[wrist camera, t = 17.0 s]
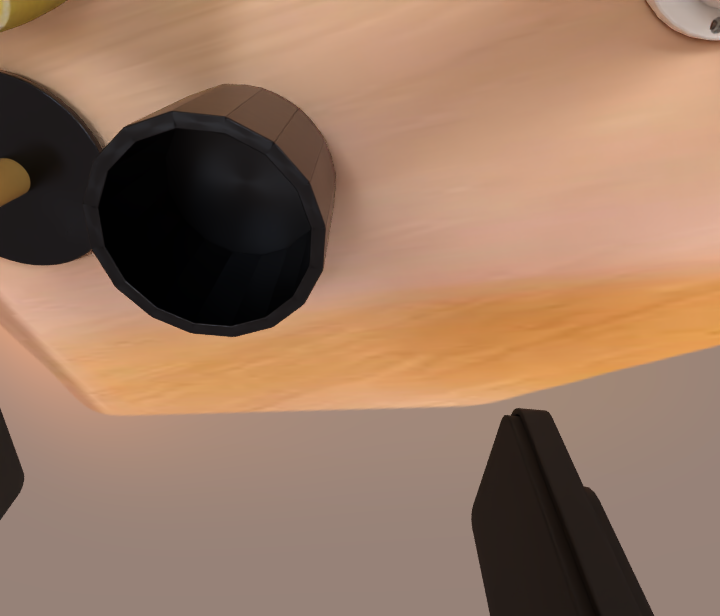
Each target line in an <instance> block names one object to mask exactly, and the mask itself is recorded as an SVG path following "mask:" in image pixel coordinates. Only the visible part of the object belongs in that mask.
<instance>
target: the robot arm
mask: <svg viewBox="0 0 720 616" xmlns="http://www.w3.org/2000/svg"><path fill="white" fill-rule="evenodd" d="M647 3H648V4H649V5H650V7H651V8H652V9H653V11H654V12H655V14H656V15H657V16H658V18H659V19H661V20H662V21H663V22H664V23H666V24H667V25H668V26H669V27H670V28H672V29H673V30H675V31H677V32H680V33H682V34H684V35H686V36H689V37H693V38H699V39H704V40H720V0H647ZM712 21H713V25H712V27H711V28H710V25H711V23H712ZM23 482H24V473H23V470H22V467H21V464H20V462H19V459H18V456H17V453H16V450H15V448H14V445H13V442H12V439H11V437H10V434H9V431H8V428H7V426H6V423H5V420H4V418H3V415H2V412H1V409H0V520H1V518H2V517H3V515H4V514H5V513H6V511H7V510H8V508H9V507H10V506H11V504H12V503H13V502H14V500H15V499H16V497H17V496H18V494H19V493H20V491H21V489H22V486H23ZM472 529H473V533H474V539H475V544H476V548H477V553H478V558H479V563H480V568H481V573H482V578H483V583H484V587H485V593H486V597H487V602H488V607H489V612H490V616H654V614H653V612H652V610H651V608H650V606H649V604H648V602H647V600H646V598H645V595H644V593H643V591H642V589H641V587H640V585H639V583H638V581H637V579H636V576H635V574H634V572H633V570H632V568H631V566H630V564H629V562H628V560H627V557H626V555H625V553H624V551H623V549H622V547H621V545H620V543H619V541H618V539H617V536H616V534H615V532H614V530H613V528H612V526H611V524H610V522H609V520H608V518H607V515H606V513H605V511H604V509H603V507H602V505H601V503H600V501H599V499H598V498H597V496H596V494H595V493H594V492H593V491H592V490H591V489H590V488H588V487H584V486H583V484H582V482H581V480H580V477H579V475H578V473H577V471H576V469H575V467H574V464H573V462H572V460H571V458H570V456H569V453H568V451H567V449H566V447H565V445H564V443H563V440H562V438H561V436H560V434H559V431H558V429H557V427H556V425H555V423H554V421H553V418H552V416H551V415H550V413H549V412H547V411H544V410H532V409H521V408H517V409H515V410H514V411H513V412H512V414H511V416H509V415H504V417H503V418H502V420H501V423H500V426H499V429H498V432H497V435H496V438H495V441H494V444H493V448H492V450H491V454H490V456H489V459H488V462H487V466H486V469H485V471H484V474H483V477H482V480H481V484H480V486H479V490H478V493H477V496H476V498H475V502H474V505H473V509H472Z"/></svg>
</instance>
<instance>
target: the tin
mask: <svg viewBox="0 0 720 616" xmlns="http://www.w3.org/2000/svg"><path fill="white" fill-rule="evenodd" d="M335 182H336V173H335V170H334V165H333V161H332V158H331V154H330V152H329V149H328V147H327V144H326V142H325V140H324V138H323V136H322V135H321V133H320V132H319V130H318V129H317V127H316V126H315V125H314V123H313V122H312V121H311V120H310V119H309V118H308V117H307V115H306V114H305V113H304V112H303V111H301V110H300V109H299V108H298V107H297V106H295V105H294V104H293V103H291V102H290V101H288V100H287V99H285V98H283V97H282V96H279V95H277V94H275V93H273V92H271V91H268V90H266V89H263V88H259V87H254V86H248V85H233V84H232V85H230V84H222V85H219V86H216V87H213V88H210V89H207V90H205V91H202V92H199V93H196V94H193V95H190V96H188V97H186V98H184V99H182V100H179V101H177V102H175V103H173V104H171V105H169V106H167V107H165V108H163V109H161V110H158V111H156V112H154V113H152V114H150V115H148V116H146V117H144V118H142V119H140V120H137V121H135V122H133V123H131V124H129V125H127V126H125V127H124V128H123V129H122V130H121V131H120V132H119V133H118V134H117V135H116V136H115V137H114V138H113V139H112V140H111V142H110V143H109V144H108V145H107V146H106V147H105V148H104V149H103V150H102V151H101V152H100V153H99V154H98V156H97V157H96V158H95V159H94V161H93V164H92V168H91V171H90V175H89V179H88V183H87V187H86V191H85V195H84V199H83V204H82V205H83V211H84V216H85V221H86V226H87V231H88V236H89V241H90V246H91V248H92V251H93V252H94V254H95V255H96V257H97V258H98V260H99V262H100V263H101V265H102V266H103V268H104V270H105V271H106V273H107V274H108V276H109V278H110V279H111V281H112V282H113V284H114V286H115V287H116V288H117V289H118V290H120V291H121V292H122V293H123V294H124V295H126V296H127V297H128V298H129V299H131V300H132V301H133V302H134V303H135V304H137V305H138V306H139V307H140V308H141V309H143V310H144V311H145V312H146V313H147V314H149V315H150V316H151V317H153V318H156V319H158V320H161V321H163V322H165V323H168V324H170V325H173V326H175V327H177V328H180V329H182V330H185V331H187V332H189V333H193V334H205V335H216V336H228V337H236V336H240V335H244V334H248V333H252V332H256V331H260V330H264V329H268V328H271V327H274V326H275V325H277V324H278V323H279V322H281V321H282V320H283V319H285V318H286V317H287V316H289V315H290V314H291V313H293V312H294V311H296V310H297V309H298V308H300V307H301V306H302V305H303V304H305V302H306V300H307V298H308V296H309V295H310V293H311V291H312V289H313V287H314V286H315V284H316V282H317V280H318V278H319V277H320V275H321V273H322V271H323V268H324V262H325V256H326V250H327V244H328V238H329V232H330V226H331V220H332V214H333V208H334V196H335Z"/></svg>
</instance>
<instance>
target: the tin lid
mask: <svg viewBox="0 0 720 616" xmlns="http://www.w3.org/2000/svg"><path fill="white" fill-rule="evenodd" d="M101 151H102V148H101V146H100V144H99V143H98V141H97V140H96V138H95V136H94V135H93V133H92V132H91V131H90V129H89V128H88V127H87V126H86V124H85V123H84V122H83V121H82V119H81V118H80V117H79V116H78V115H77V114H76V113H75V112H74V111H73V110H72V109H71V108H70V107H69V106H67V105H66V104H65V103H64V102H63V101H62V100H60V99H59V98H58V97H56V96H55V95H54V94H52V93H51V92H49V91H48V90H46V89H45V88H43V87H41V86H39V85H38V84H36V83H34V82H32V81H30V80H28V79H25V78H23V77H21V76H19V75H16V74H12V73H9V72H6V71H3V70H0V257H3V258H6V259H8V260H12V261H16V262H20V263H24V264H31V265H57V264H62V263H66V262H70V261H72V260H75V259H78V258H79V257H81V256H83V255H85V254H86V253H88V252H89V251H90V250H91V249H92V248H91V246H90V241H89V236H88V231H87V226H86V221H85V216H84V211H83V205H82V204H83V199H84V195H85V191H86V187H87V183H88V179H89V175H90V171H91V168H92V164H93V161H94V159H95V158H96V157H97V156H98V154H99V153H100V152H101Z"/></svg>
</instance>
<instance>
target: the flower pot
mask: <svg viewBox="0 0 720 616" xmlns="http://www.w3.org/2000/svg"><path fill="white" fill-rule="evenodd" d="M65 1H67V0H0V32H3V31H6V30H8V29H11V28H14V27H17V26H20V25H22V24H25V23H27V22H29V21H32V20H34V19H36V18H37V17H39V16H41V15H43V14H45V13H47V12H49V11H51V10H53V9H54V8H56V7H58V6H59V5H61V4H62V3H64V2H65Z"/></svg>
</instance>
